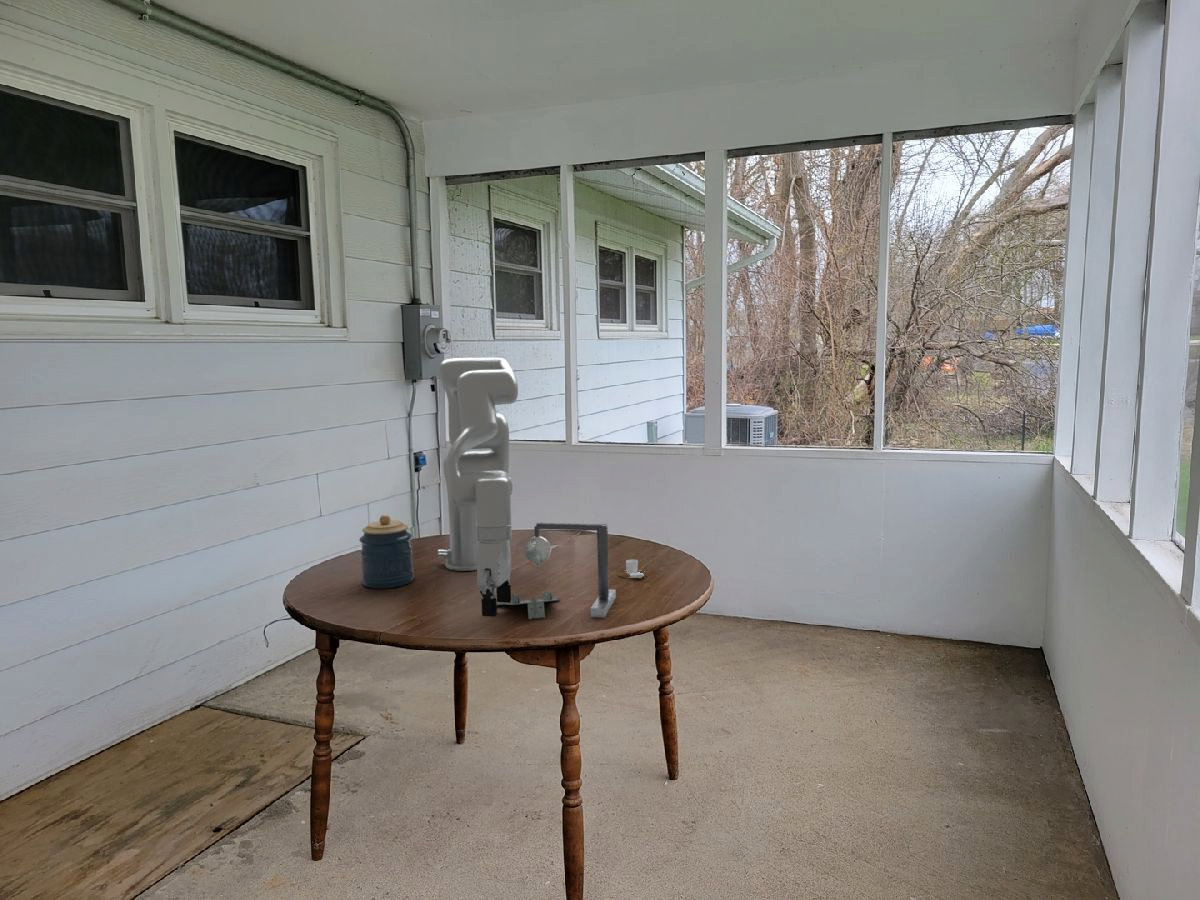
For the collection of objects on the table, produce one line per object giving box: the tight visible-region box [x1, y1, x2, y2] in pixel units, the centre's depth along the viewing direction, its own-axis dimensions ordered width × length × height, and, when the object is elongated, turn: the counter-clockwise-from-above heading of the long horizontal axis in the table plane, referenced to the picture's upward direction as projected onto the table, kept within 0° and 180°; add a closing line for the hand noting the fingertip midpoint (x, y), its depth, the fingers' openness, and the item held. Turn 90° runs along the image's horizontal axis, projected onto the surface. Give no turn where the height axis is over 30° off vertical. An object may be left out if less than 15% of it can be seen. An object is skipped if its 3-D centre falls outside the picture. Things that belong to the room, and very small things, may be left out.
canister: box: [358, 514, 415, 589], centre depth 200 cm, size 13×13×18 cm
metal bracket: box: [497, 591, 561, 620], centre depth 177 cm, size 14×6×15 cm
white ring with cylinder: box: [625, 559, 644, 579], centre depth 203 cm, size 9×8×4 cm
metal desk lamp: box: [523, 522, 617, 619], centre depth 178 cm, size 20×14×19 cm
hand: (497, 608), depth 172 cm, fingers open, 9 cm apart
